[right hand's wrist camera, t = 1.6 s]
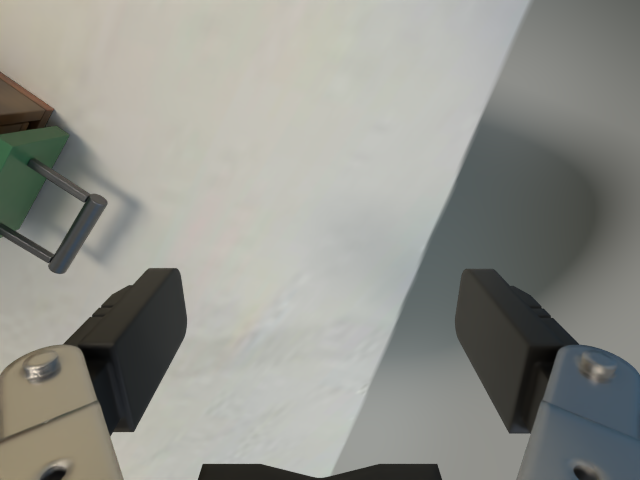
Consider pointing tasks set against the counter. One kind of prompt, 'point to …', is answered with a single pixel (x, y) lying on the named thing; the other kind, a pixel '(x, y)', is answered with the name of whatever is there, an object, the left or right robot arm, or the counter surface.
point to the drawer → (25, 183)
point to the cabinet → (21, 105)
